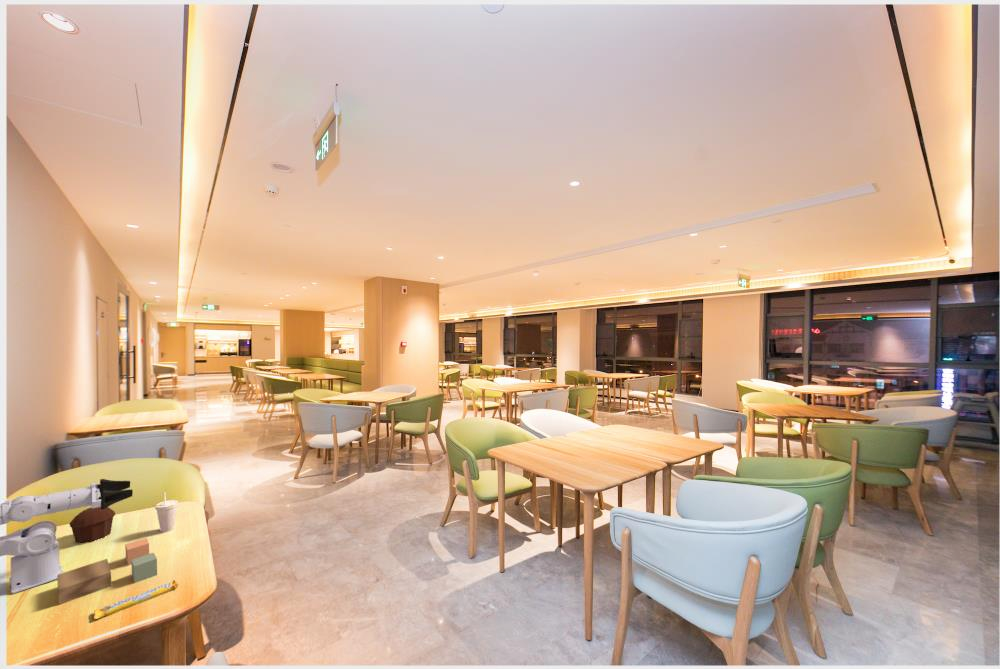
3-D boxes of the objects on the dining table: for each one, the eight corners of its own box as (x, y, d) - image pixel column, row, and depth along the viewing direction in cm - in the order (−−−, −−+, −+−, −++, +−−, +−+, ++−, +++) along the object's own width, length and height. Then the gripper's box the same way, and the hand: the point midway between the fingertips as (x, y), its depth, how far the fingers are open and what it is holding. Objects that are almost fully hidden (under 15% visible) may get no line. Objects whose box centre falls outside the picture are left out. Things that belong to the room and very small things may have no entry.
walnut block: (59, 604, 105) (58, 590, 105) (57, 588, 112) (57, 574, 112) (111, 585, 113) (110, 572, 113) (107, 571, 120) (107, 558, 119)
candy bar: (176, 583, 115) (176, 577, 115) (179, 590, 112) (179, 583, 112) (93, 615, 102) (93, 608, 102) (94, 623, 99) (93, 616, 99)
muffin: (81, 532, 143) (80, 505, 143) (121, 525, 147) (120, 499, 147) (62, 549, 132) (61, 519, 132) (106, 541, 137) (105, 512, 136)
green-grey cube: (134, 583, 114) (134, 566, 114) (131, 576, 117) (131, 559, 117) (157, 575, 118) (156, 558, 118) (154, 568, 121) (153, 552, 121)
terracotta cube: (128, 565, 123) (127, 550, 123) (125, 559, 126) (125, 544, 126) (149, 558, 126) (148, 543, 126) (146, 552, 130) (146, 537, 130)
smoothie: (155, 529, 144) (154, 491, 144) (177, 523, 149) (176, 486, 148) (156, 536, 140) (155, 497, 139) (179, 529, 144) (178, 491, 144)
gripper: (70, 496, 115) (134, 484, 125) (71, 478, 125) (129, 468, 135) (69, 519, 116) (132, 506, 126) (69, 499, 125) (128, 489, 135)
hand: (131, 488), depth 130 cm, fingers open, 7 cm apart
